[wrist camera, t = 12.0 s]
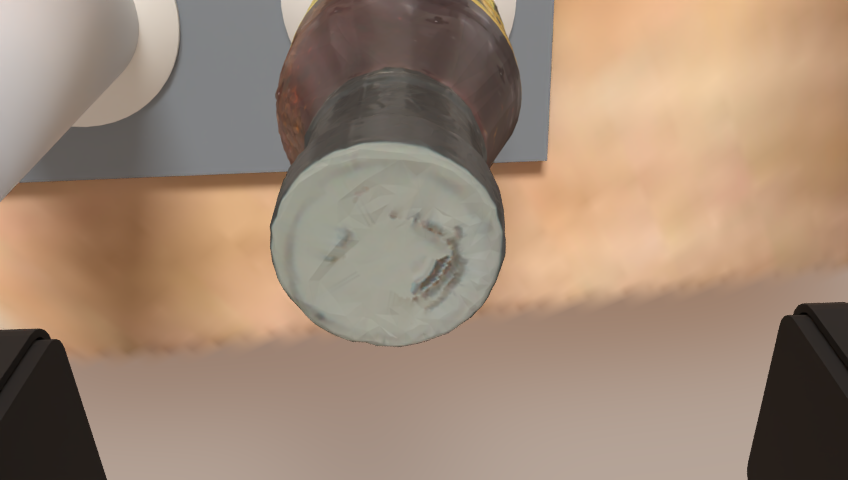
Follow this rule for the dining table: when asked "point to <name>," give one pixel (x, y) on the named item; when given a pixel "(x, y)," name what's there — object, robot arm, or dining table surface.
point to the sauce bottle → (393, 165)
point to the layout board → (184, 86)
